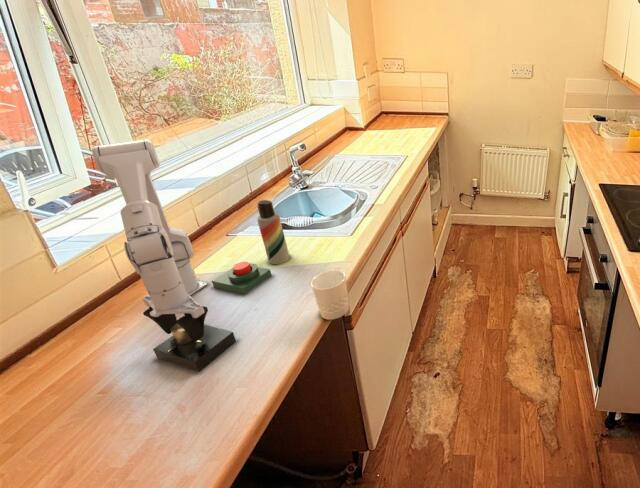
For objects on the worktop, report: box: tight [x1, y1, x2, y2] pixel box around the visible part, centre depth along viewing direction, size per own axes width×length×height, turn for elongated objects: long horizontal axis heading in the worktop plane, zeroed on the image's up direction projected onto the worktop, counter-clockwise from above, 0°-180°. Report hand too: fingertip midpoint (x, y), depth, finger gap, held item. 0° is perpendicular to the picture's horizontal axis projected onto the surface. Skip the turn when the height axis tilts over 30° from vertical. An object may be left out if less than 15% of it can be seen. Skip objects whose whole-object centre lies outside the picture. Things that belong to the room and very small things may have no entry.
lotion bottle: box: [256, 199, 290, 265], centre depth 120 cm, size 6×6×20 cm
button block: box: [211, 262, 272, 295], centre depth 113 cm, size 11×9×4 cm
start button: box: [232, 261, 251, 275], centre depth 112 cm, size 4×4×2 cm
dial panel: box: [152, 323, 237, 373], centre depth 90 cm, size 12×9×3 cm
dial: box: [171, 324, 192, 345], centre depth 89 cm, size 4×4×4 cm
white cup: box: [310, 269, 350, 321], centre depth 101 cm, size 8×8×10 cm
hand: (185, 334), depth 89 cm, fingers open, 7 cm apart
